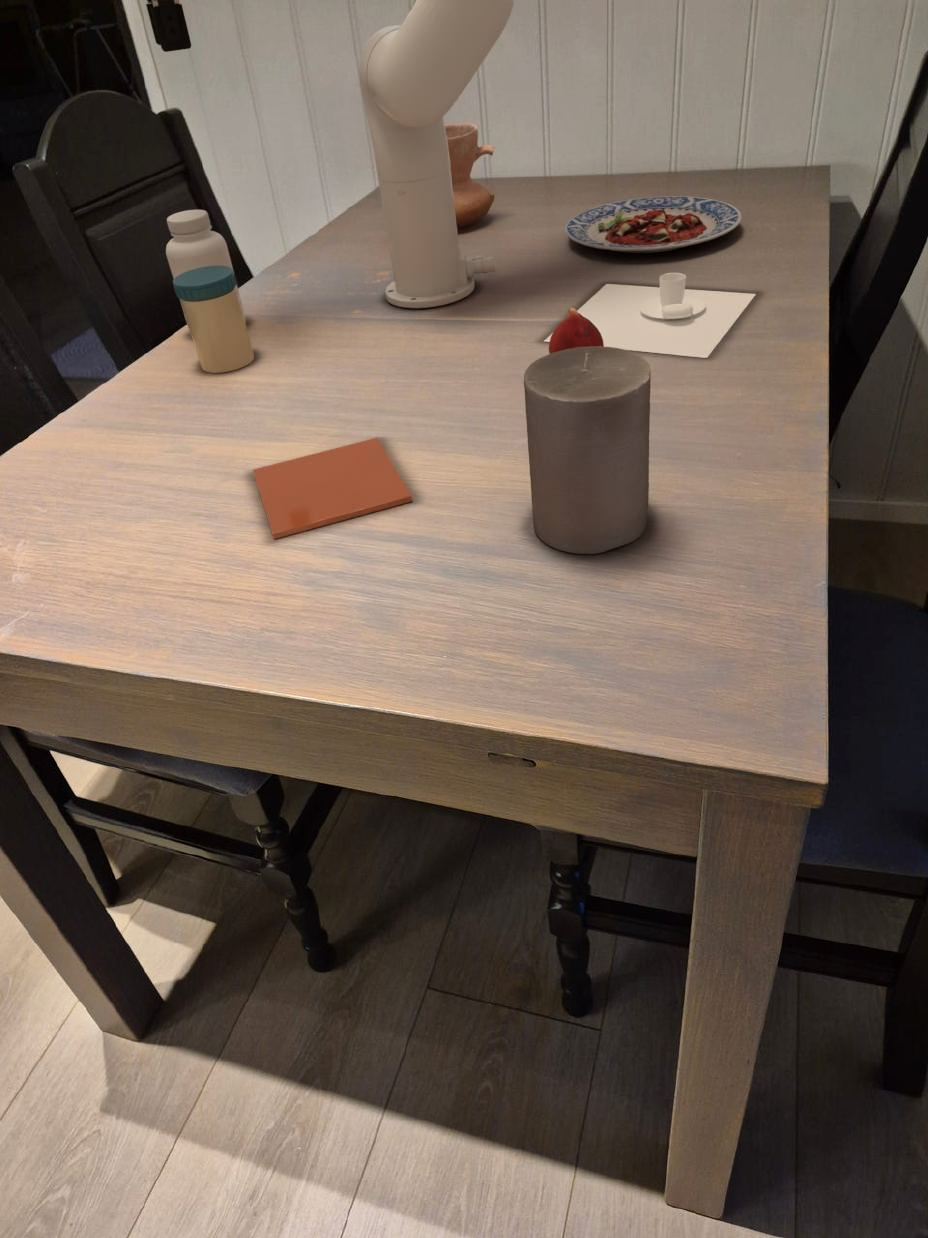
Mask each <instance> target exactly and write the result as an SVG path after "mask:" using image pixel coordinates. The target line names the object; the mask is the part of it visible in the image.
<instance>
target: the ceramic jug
mask: <svg viewBox="0 0 928 1238" xmlns="http://www.w3.org/2000/svg"><path fill="white" fill-rule="evenodd" d="M444 125H445V130H446V136H447V142H448V150H449V158H450V167H451V168H450V171H451V180H452V189H453V198H454V207H455V215H456V224H457V229H462V228H466V227H468V226H471V225H473V224H476V223H477V222H478V221H480V220H482V219H483V218H484V217H485V216H486V215H487V214H488V212H489V211H490V209H491V207H492V205H493V203H494V201H495V193H494V192H493V191H489V190H488V188H487V187H486V186H484V185H483V184H481V183H479V182H477V181H476V180H474V179H473V178H471V173H472V170H473V167H474V163H475V162H476V161H478V159H480V157H482V156H484V155H490V156H491V157H492V156H493V154H494V152H495V147H494V146H493V145H491V144H483V145H480V146H479V144H478V142H479V130H478V129H479V128H478V126H477V125H476V124H473V123H449V124H444Z"/></svg>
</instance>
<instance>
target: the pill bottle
mask: <svg viewBox="0 0 928 1238" xmlns="http://www.w3.org/2000/svg"><path fill="white" fill-rule="evenodd" d="M166 224H167V227H168V230H169V232H170V235H171V236H172V237H173V238H171V239H170V240H169V241H168V243H166V247H165V255H166V258H167V262H168V265H169V269H170V272H171V275H172V277H173V279H172V280H174V278H176V277H177V276H178V275H180V274H182V273H184V272H187V271H190V270H193V269H197V268H201V267H207V266H228V267H230V268H232V269H233V273H234V274H235V271H234V268H233V264H232V259H231V256H230V251H229V248H228V244H227V241H226V239H225V238H224V237H223V235H222V234H221V233H219V232H217V231H214V230H212V228H213V227H212V224H211V220H210V217H209V213H208V211H206V210H204V209H188V210H182V211H179V212H175V213H173V214H171V215H169V216H168V217H167V218H166ZM236 291H237V294H238V298H239V302H240V305H241V309H242V313H243V316H244V320H245V323H246V321H247V320H246V315H245V310H244V306H243V302H242V299H241V295H240V292H239V291H240V290H239V287H238V282H237V283H236ZM178 299H179V301H180V305H181V308H182V311H183V315H184V319H185V322H186V324H187V328H188V330H189V333H190V334H191V332H190V329H189V326H188V323H187V319H186V316H185V313H184V310H183V307H182V303H181V300H180V298H178Z"/></svg>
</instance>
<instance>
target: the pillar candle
mask: <svg viewBox="0 0 928 1238" xmlns="http://www.w3.org/2000/svg"><path fill="white" fill-rule="evenodd" d="M650 366H651V365H650V363H649V362H648V360H646V358H644V357H643V356H642V355H641V354H639V353H637V352H635V351H632V350H624V349H620V348H613V347H602V346H589V347H576V348H571V349H566V350H561V351H558V352H554V353H550V354H549V353H548V354H546V355H544V356H541V357H540V358H537V359H535V361H533V362H531V364H530V365H528V366H527V368H526V369H525V371H524V374H523V388H524V407H525V418H526V419H525V420H526V433H527V435H526V436H527V437H526V438H527V450H528V465H529V479H530V493H531V496H530V497H531V507H532V510H531V512H532V524H533V530H534V533H535V535H536V536H537V537H538V538H539V540H541V541H542V542H543V543H545V545H548V546H549V547H551V548H553V549H555V550H557V551H562V552H566V553H570V554H571V553H572V554H577V555H583V554H584V555H596V554H601V553H605V552H607V551H611V550H613V549H616V548H620V547H622V546H625V545H628V544H630V543H631V544H632V543H633V542H634V541H636V540H637V539H638V538H640V537H641V536H642V534H644V531H645V530H646V527H647V524H648V511H649V499H650V498H649V493H650V492H649V491H650V489H649V487H650V429H651V428H650V425H651V424H650V421H651V418H650V416H651V379H652V378H651V377H652V376H651V372H652V371H651V367H650Z"/></svg>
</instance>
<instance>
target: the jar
mask: <svg viewBox="0 0 928 1238" xmlns="http://www.w3.org/2000/svg"><path fill="white" fill-rule="evenodd" d="M180 300H181V302H180V304H181V303H182V305H181V308H182V307H183V309H182V311H183V310H184V312H183V314H184V313H185V315H184V317H185V316H186V319H187V322H186V324H187V323H188V325H187V327H188V326H189V328H188V330H189V329H190V331H189V333H190V332H191V333H190V336H191V338H192V341H193V345H194V348H195V351H196V354H197V357H198V360H199V363H200V364H199V365H200V367H201V369H202V371H204V372H206V373H211V374H219V373H220V374H223V373H228V372H233V371H237V370H240V369H242V368H244V367H246V366H248V365H249V364H251V363H252V362H253V361H254V360H255V353H254V350H253V346H252V343H251V342H252V341H251V339H250V335H249V331H248V327H247V323H246V322H245V320H246V319H245V320H244V316H243V313H242V309H241V305H240V302H239V298H238V294H237V291H236V287H235V288H234V289H232V290H231V291H229V292H227V293H225V294H223V295H220V296H217V297H213V298H209V299H203V300H182V299H179V301H180ZM186 319H185V320H186Z"/></svg>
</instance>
